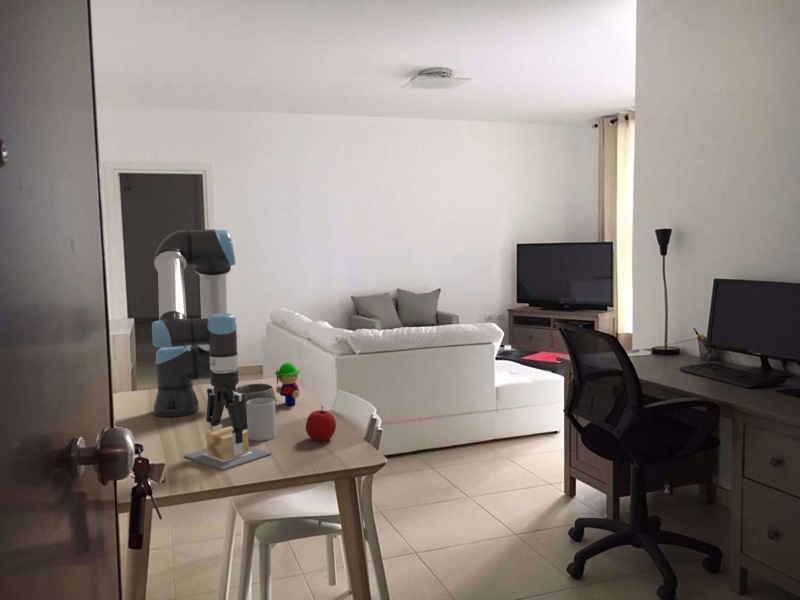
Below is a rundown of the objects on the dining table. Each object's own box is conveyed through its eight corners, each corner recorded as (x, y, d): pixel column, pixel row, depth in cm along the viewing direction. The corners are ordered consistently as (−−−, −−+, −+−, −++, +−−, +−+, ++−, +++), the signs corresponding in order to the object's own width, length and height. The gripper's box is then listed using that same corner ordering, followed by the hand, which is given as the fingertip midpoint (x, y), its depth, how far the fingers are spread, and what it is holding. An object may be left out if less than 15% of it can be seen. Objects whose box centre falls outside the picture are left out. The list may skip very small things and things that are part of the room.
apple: (302, 437, 208) (301, 404, 207) (331, 433, 211) (330, 401, 210) (310, 446, 199) (309, 412, 198) (340, 441, 203) (339, 408, 202)
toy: (276, 400, 253) (275, 360, 251) (302, 399, 254) (301, 359, 252) (273, 408, 242) (272, 366, 240) (300, 407, 243) (299, 365, 241)
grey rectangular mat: (184, 456, 192) (184, 454, 192) (232, 442, 204) (231, 440, 204) (223, 470, 180) (223, 468, 180) (271, 454, 192) (271, 452, 192)
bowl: (260, 408, 242) (259, 380, 241) (286, 416, 231) (285, 387, 230) (224, 417, 232) (223, 387, 231) (249, 425, 221) (248, 395, 220)
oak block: (207, 454, 192) (206, 433, 191) (231, 446, 198) (230, 426, 197) (224, 460, 186) (224, 438, 186) (248, 452, 193) (248, 431, 192)
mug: (278, 439, 207) (277, 403, 206) (249, 442, 204) (248, 406, 203) (271, 428, 218) (270, 394, 217) (244, 431, 215) (242, 396, 214)
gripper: (190, 368, 193) (194, 447, 196) (236, 377, 180) (240, 462, 182) (213, 364, 199) (216, 441, 201) (259, 372, 186) (262, 454, 188)
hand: (227, 451), depth 192 cm, fingers closed on oak block, 8 cm apart
